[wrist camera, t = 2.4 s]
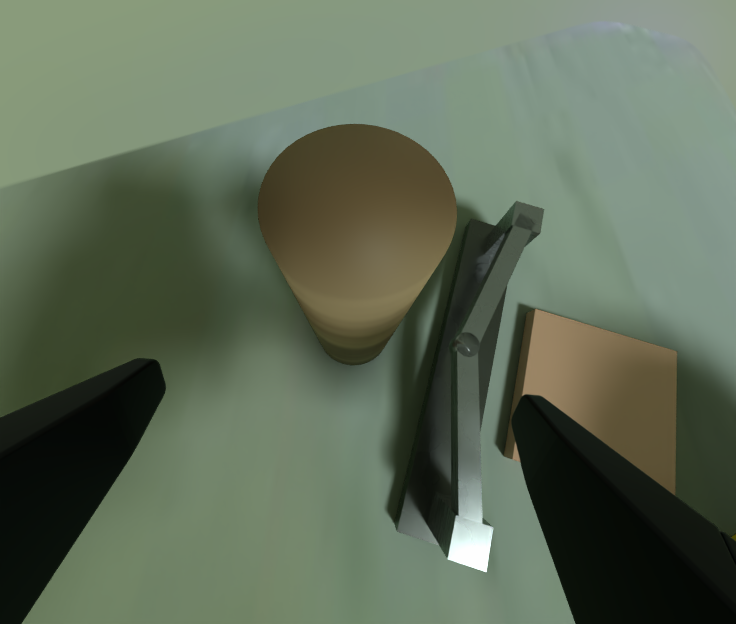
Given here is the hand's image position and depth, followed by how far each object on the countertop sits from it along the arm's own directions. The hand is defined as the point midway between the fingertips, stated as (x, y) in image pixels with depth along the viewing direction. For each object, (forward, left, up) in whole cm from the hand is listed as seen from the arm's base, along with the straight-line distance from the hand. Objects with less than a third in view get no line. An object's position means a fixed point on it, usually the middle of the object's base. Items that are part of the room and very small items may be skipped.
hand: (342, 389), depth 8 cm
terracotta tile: (-5, -14, -11) cm, 18 cm away
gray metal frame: (-1, -8, -11) cm, 13 cm away
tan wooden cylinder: (+4, -2, -11) cm, 12 cm away
